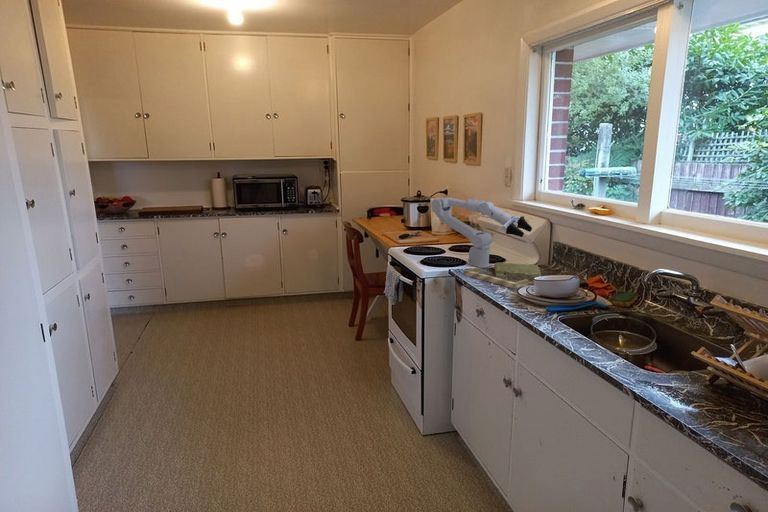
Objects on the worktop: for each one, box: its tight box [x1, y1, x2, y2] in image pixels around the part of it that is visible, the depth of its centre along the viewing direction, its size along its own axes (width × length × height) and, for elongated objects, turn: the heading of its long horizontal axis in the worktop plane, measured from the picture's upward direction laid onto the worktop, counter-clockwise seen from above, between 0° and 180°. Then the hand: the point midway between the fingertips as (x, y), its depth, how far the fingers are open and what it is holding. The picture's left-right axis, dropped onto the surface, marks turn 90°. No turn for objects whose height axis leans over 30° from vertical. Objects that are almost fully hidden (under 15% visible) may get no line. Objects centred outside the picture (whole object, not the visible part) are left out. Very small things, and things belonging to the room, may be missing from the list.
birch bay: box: [463, 266, 530, 290], centre depth 207 cm, size 27×10×2 cm, turn 40°
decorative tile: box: [493, 262, 542, 281], centre depth 217 cm, size 19×20×4 cm
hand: (527, 232), depth 214 cm, fingers open, 7 cm apart
